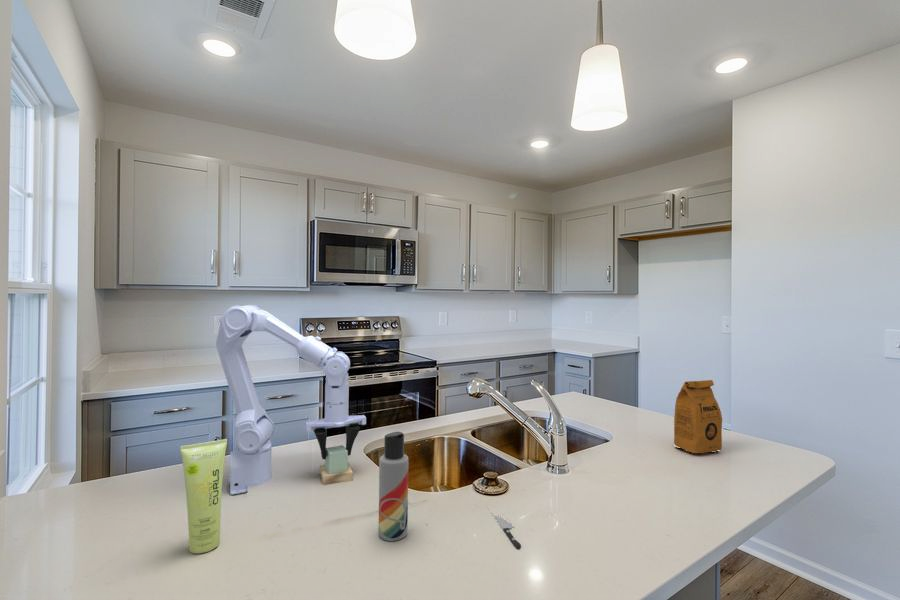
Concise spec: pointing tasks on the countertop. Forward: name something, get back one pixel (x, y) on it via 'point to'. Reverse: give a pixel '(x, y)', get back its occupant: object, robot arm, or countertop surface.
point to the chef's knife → (507, 530)
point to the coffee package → (697, 418)
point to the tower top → (335, 476)
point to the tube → (204, 492)
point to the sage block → (336, 459)
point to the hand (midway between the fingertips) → (336, 456)
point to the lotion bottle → (393, 489)
